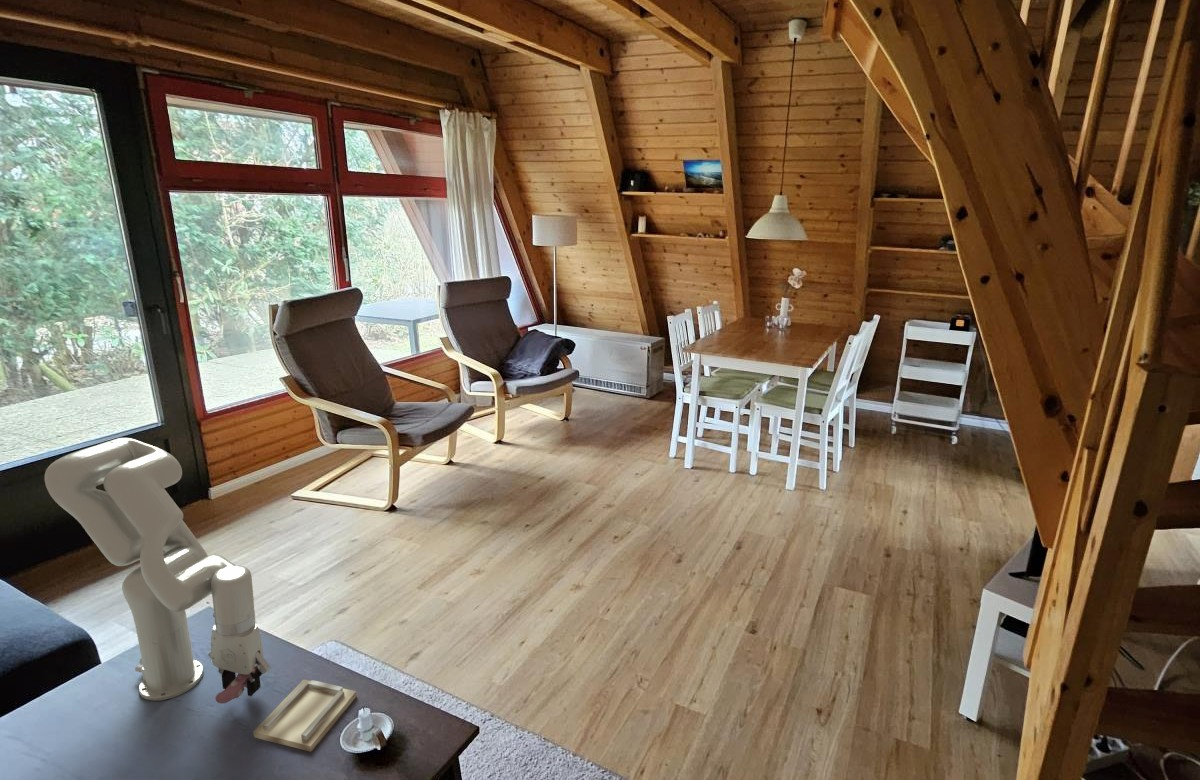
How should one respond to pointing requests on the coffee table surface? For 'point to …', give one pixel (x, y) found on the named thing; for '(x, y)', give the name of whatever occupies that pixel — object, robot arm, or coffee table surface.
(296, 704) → the dock
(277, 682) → the coffee table surface
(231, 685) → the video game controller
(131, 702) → the coffee table surface
